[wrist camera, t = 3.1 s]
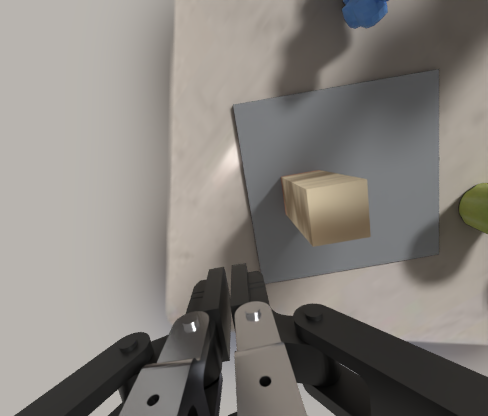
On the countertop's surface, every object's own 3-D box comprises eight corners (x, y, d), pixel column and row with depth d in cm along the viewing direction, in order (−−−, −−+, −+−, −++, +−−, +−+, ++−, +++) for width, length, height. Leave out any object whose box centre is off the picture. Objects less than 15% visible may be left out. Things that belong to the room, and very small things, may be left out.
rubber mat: (233, 105, 31) (233, 104, 30) (435, 70, 30) (438, 69, 30) (262, 282, 36) (262, 284, 35) (436, 253, 36) (438, 254, 35)
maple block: (280, 176, 32) (306, 189, 20) (319, 170, 32) (367, 179, 20) (285, 214, 33) (312, 246, 21) (323, 207, 33) (370, 237, 21)
